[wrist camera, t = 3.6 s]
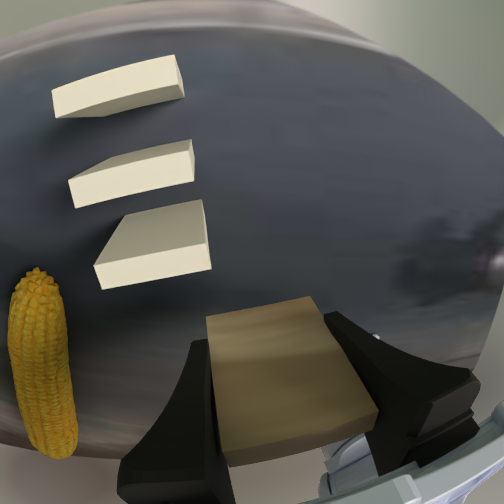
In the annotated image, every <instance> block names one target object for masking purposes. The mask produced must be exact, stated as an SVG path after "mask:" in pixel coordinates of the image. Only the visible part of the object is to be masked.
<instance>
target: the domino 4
mask: <svg viewBox="0 0 504 504" xmlns="http://www.w3.org/2000/svg"><path fill="white" fill-rule="evenodd" d="M206 322H207V332H208V342H209V349H210V358H211V369H212V378H213V386H214V394H215V402H216V410H217V417H218V425H219V432H220V439H221V446H222V452H223V454H224V457H225V459H226V461H227V464H228V466H229V467H235V466H241V465H247V464H252V463H257V462H262V461H267V460H272V459H277V458H281V457H285V456H289V455H293V454H297V453H301V452H305V451H309V450H312V449H315V448H319V447H323V446H326V445H329V444H333V443H336V442H339V441H342V440H345V439H348V438H351V437H354V436H357V435H359V434H362V433H365V432H368V431H370V430H373V428H374V425H375V421H376V418H377V415H378V412H379V410H378V408H377V407H376V405H375V403H374V401H373V400H372V398H371V396H370V395H369V393H368V391H367V390H366V388H365V386H364V384H363V383H362V381H361V379H360V378H359V376H358V374H357V373H356V371H355V369H354V368H353V366H352V364H351V363H350V361H349V359H348V358H347V356H346V354H345V353H344V351H343V349H342V348H341V346H340V345H339V343H338V342H337V341H336V340H335V338H334V337H333V336H332V334H331V332H330V331H329V329H328V327H327V326H326V324H325V322H324V318H323V317H322V315H321V313H320V312H319V310H318V308H317V307H316V305H315V304H314V302H313V300H312V299H311V297H310V296H308V297H303V298H299V299H294V300H289V301H285V302H280V303H275V304H270V305H265V306H260V307H255V308H250V309H245V310H239V311H234V312H229V313H223V314H218V315H212V316H207V317H206Z"/></svg>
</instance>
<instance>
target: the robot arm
mask: <svg viewBox="0 0 504 504" xmlns="http://www.w3.org/2000/svg"><path fill="white" fill-rule="evenodd" d="M324 322H325V324H326V326H327V327H328V329H329V331H330V332H331V334H332V336H333V337H334V338H335V340H336V341H337V342H338V343H339V345H340V346H341V348H342V349H343V351H344V353H345V354H346V356H347V358H348V359H349V361H350V363H351V364H352V366H353V368H354V369H355V371H356V373H357V374H358V376H359V378H360V379H361V381H362V383H363V384H364V386H365V388H366V390H367V391H368V393H369V395H370V396H371V398H372V400H373V401H374V403H375V405H376V407H377V408H378V410H379V412H378V415H377V418H376V421H375V425H374V428H373V430H370V431H368V432H365V433H362V434H359V435H357V436H354V437H351V438H348V439H345V440H342V441H339V442H336V443H333V444H329V445H326V446H323V447H321V449H322V451H323V454H324V456H325V458H326V460H327V461H325V462H324V463H325V465H326V468H327V471H328V472H327V473H325V474H324V475H322V477H321V479H320V484H319V487H318V493H319V498H317V499H314V500H310V501H307V502H303V503H299V504H463V503H464V500H465V499H466V497H467V495H468V493H469V492H471V491H472V490H474V489H475V488H476V487H478V486H479V485H480V484H482V483H483V482H484V481H486V480H487V479H488V478H489V477H491V476H492V475H493V474H495V473H496V472H497V471H498V470H500V469H501V468H502V467H503V466H504V400H503V401H502V402H500V403H499V404H498V405H497V406H496V408H495V409H494V411H493V412H492V414H491V416H490V417H488V418H487V419H485V420H484V421H482V422H481V423H480V424H478V425H477V423H476V422H475V421H474V419H473V418H472V416H473V415H474V412H473V411H472V410H471V409H470V407H471V406H472V404H473V402H474V400H475V398H476V397H477V395H478V393H479V391H480V386H481V384H480V381H479V380H478V379H477V378H476V377H475V376H474V374H473V373H472V372H471V371H470V370H469V369H468V368H461V367H454V366H448V365H443V364H439V363H435V362H431V361H428V360H425V359H422V358H419V357H416V356H413V355H410V354H408V353H406V352H403V351H401V350H399V349H397V348H395V347H393V346H391V345H389V344H387V343H385V342H383V341H381V340H380V339H379V336H378V335H377V334H373V335H371V334H370V333H368V332H367V331H365V330H363V329H362V328H360V327H359V326H357V325H356V324H355V323H353V322H352V321H350V320H349V319H347V318H346V317H345V316H343V315H342V314H340V313H339V312H337V311H335V312H331V313H327V314H324ZM117 479H118V480H117V494H118V495H119V496H120V498H121V499H123V500H124V501H125V502H127V503H128V504H236V502H235V498H234V494H233V489H232V485H231V480H230V476H229V471H228V466H227V461H226V459H225V457H224V454H223V452H222V446H221V439H220V432H219V425H218V417H217V410H216V402H215V394H214V386H213V378H212V369H211V358H210V349H209V343H208V339H202V340H196V341H193V342H192V343H191V346H190V350H189V354H188V357H187V360H186V363H185V366H184V369H183V371H182V374H181V376H180V379H179V381H178V383H177V385H176V388H175V390H174V392H173V394H172V396H171V398H170V400H169V401H168V403H167V405H166V407H165V408H164V410H163V412H162V413H161V415H160V416H159V418H158V419H157V421H156V422H155V423H154V425H153V426H152V427H151V429H150V430H149V431H148V432H147V433H146V435H145V436H144V437H143V438H142V439H141V441H140V442H139V443H138V444H137V445H136V446H135V447H134V448H133V449H132V450H131V451H130V452H129V453H128V454H127V455H126V456H125V457H124V458H123V459H121V462H120V467H119V471H118V478H117Z"/></svg>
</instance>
